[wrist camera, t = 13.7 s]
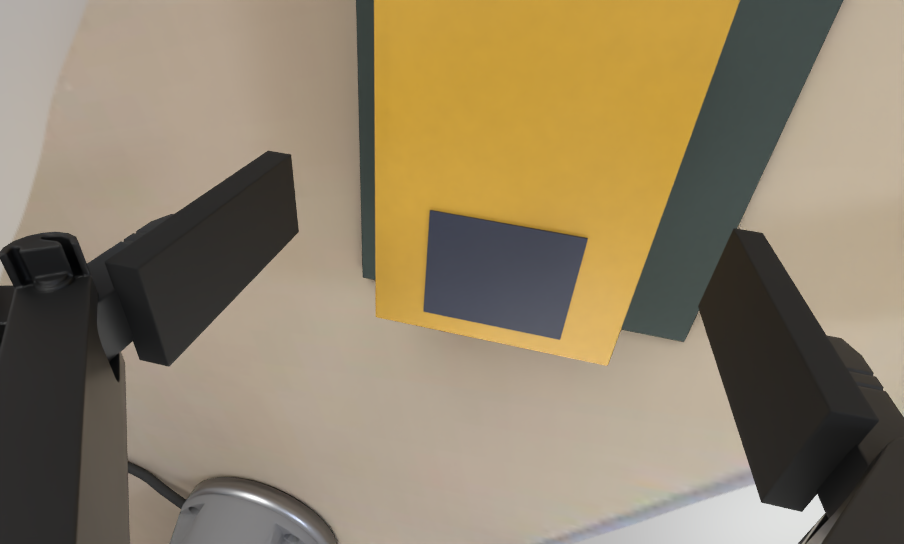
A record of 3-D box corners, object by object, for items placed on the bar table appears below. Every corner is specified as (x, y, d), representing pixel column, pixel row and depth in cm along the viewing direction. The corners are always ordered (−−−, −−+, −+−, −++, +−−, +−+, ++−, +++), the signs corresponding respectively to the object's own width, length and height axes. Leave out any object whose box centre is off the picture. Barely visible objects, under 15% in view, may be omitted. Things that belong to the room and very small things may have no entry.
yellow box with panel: (424, -112, 18) (371, -125, 14) (724, -84, 17) (773, -89, 13) (409, 255, 28) (374, 318, 23) (604, 292, 26) (607, 368, 22)
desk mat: (365, 272, 30) (362, 277, 29) (357, -181, 18) (351, -184, 18) (682, 335, 27) (684, 342, 27) (900, -139, 16) (910, -142, 15)
